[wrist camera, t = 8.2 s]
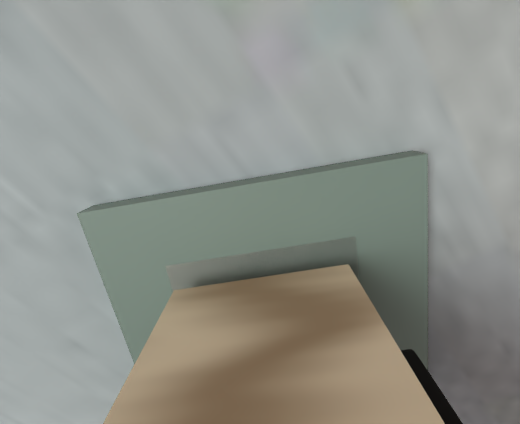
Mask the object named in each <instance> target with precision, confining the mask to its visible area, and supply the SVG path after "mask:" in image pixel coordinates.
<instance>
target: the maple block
mask: <svg viewBox="0 0 520 424" xmlns="http://www.w3.org/2000/svg"><path fill="white" fill-rule="evenodd" d="M103 424H445V423H444V422H443V420H442V418H441V417H440V415H439V413H438V412H437V410H436V408H435V407H434V405H433V403H432V402H431V400H430V398H429V397H428V395H427V393H426V392H425V390H424V388H423V387H422V385H421V383H420V382H419V380H418V379H417V377H416V375H415V374H414V372H413V370H412V369H411V367H410V365H409V364H408V362H407V360H406V359H405V357H404V355H403V354H402V352H401V350H400V349H399V347H398V345H397V344H396V342H395V340H394V339H393V337H392V335H391V334H390V332H389V330H388V329H387V327H386V325H385V324H384V322H383V321H382V319H381V317H380V316H379V314H378V312H377V311H376V309H375V307H374V306H373V304H372V302H371V301H370V299H369V297H368V296H367V294H366V292H365V291H364V289H363V287H362V286H361V284H360V282H359V281H358V279H357V277H356V276H355V274H354V272H353V271H352V269H351V267H350V266H349V264H346V265H339V266H332V267H326V268H319V269H312V270H306V271H299V272H292V273H286V274H279V275H272V276H266V277H259V278H252V279H246V280H239V281H232V282H226V283H219V284H212V285H206V286H199V287H192V288H186V289H179V290H174V291H173V293H172V295H171V297H170V299H169V300H168V302H167V304H166V306H165V308H164V310H163V312H162V314H161V315H160V317H159V319H158V321H157V323H156V325H155V327H154V329H153V331H152V332H151V334H150V336H149V338H148V340H147V342H146V344H145V346H144V348H143V349H142V351H141V353H140V355H139V357H138V359H137V361H136V363H135V364H134V366H133V368H132V370H131V372H130V374H129V376H128V378H127V380H126V381H125V383H124V385H123V387H122V389H121V391H120V393H119V395H118V397H117V398H116V400H115V402H114V404H113V406H112V408H111V410H110V412H109V414H108V415H107V417H106V419H105V421H104V423H103Z"/></svg>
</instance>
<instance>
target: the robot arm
mask: <svg viewBox="0 0 520 424" xmlns="http://www.w3.org/2000/svg"><path fill="white" fill-rule="evenodd" d="M379 316H380V315H379ZM382 321H383V320H382ZM401 352H402V354H403V355H404V357H405V359H406V360H407V362H408V364H409V365H410V367H411V369H412V370H413V372H414V374H415V375H416V377H417V379H418V380H419V382H420V383H421V385H422V387H423V388H424V390H425V392H426V393H427V395H428V397H429V398H430V400H431V402H432V403H433V405H434V407H435V408H436V410H437V412H438V413H439V415H440V417H441V418H442V420H443V422H444V423H445V424H462V422H461V421H460V419H459V418H458V416H457V414H456V413H455V411H454V410H453V408H452V407H451V405H450V404H449V402H448V401H447V399H446V398H445V396H444V395H443V393H442V392H441V390H440V389H439V387H438V386H437V384H436V383H435V381H434V380H433V378H432V377H431V375H430V374H429V372H428V371H427V369H426V368H425V366H424V364H423V363H422V361H421V360H420V358H419V357H418V355H417V354H416V353H415V351H414V350H412V349H406V350H401Z"/></svg>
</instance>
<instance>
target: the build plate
mask: <svg viewBox="0 0 520 424" xmlns="http://www.w3.org/2000/svg"><path fill="white" fill-rule="evenodd" d="M77 215H78V218H79V221H80V223H81V226H82V228H83V231H84V234H85V236H86V239H87V241H88V244H89V247H90V249H91V252H92V254H93V257H94V260H95V262H96V265H97V267H98V270H99V273H100V275H101V278H102V280H103V283H104V286H105V288H106V291H107V293H108V296H109V299H110V301H111V304H112V307H113V309H114V312H115V314H116V317H117V320H118V322H119V325H120V327H121V330H122V333H123V335H124V338H125V340H126V343H127V346H128V348H129V351H130V353H131V356H132V359H133V361H134V364H135V363H136V361H137V359H138V357H139V355H140V353H141V351H142V349H143V348H144V346H145V344H146V342H147V340H148V338H149V336H150V334H151V332H152V331H153V329H154V327H155V325H156V323H157V321H158V319H159V317H160V315H161V314H162V312H163V310H164V308H165V306H166V304H167V302H168V300H169V299H170V297H171V295H172V293H173V291H174V290H179V289H186V288H192V287H199V286H206V285H212V284H219V283H226V282H232V281H239V280H246V279H252V278H259V277H266V276H272V275H279V274H286V273H292V272H299V271H306V270H312V269H319V268H326V267H332V266H339V265H346V264H349V266H350V267H351V269H352V271H353V272H354V274H355V276H356V277H357V279H358V281H359V282H360V284H361V286H362V287H363V289H364V291H365V292H366V294H367V296H368V297H369V299H370V301H371V302H372V304H373V306H374V307H375V309H376V311H377V312H378V314H379V315H380V317H381V319H382V320H383V322H384V324H385V325H386V327H387V329H388V330H389V332H390V334H391V335H392V337H393V339H394V340H395V342H396V344H397V345H398V347H399V349H400V350H406V349H412V350H414V351H415V353H416V354H417V355H418V357H419V358H420V360H421V361H422V363H423V364H424V366H425V368H426V369H427V371H428V154H426V153H421V152H416V151H408V152H402V153H396V154H390V155H384V156H379V157H373V158H367V159H361V160H355V161H350V162H344V163H338V164H332V165H326V166H320V167H315V168H309V169H303V170H297V171H291V172H286V173H280V174H274V175H268V176H262V177H256V178H251V179H245V180H239V181H233V182H227V183H221V184H216V185H210V186H204V187H198V188H192V189H187V190H181V191H175V192H169V193H163V194H157V195H152V196H146V197H140V198H134V199H128V200H123V201H117V202H111V203H105V204H99V205H93V206H91V207H89V208H87V209H85V210H83V211H81V212H79V213H77Z"/></svg>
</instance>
